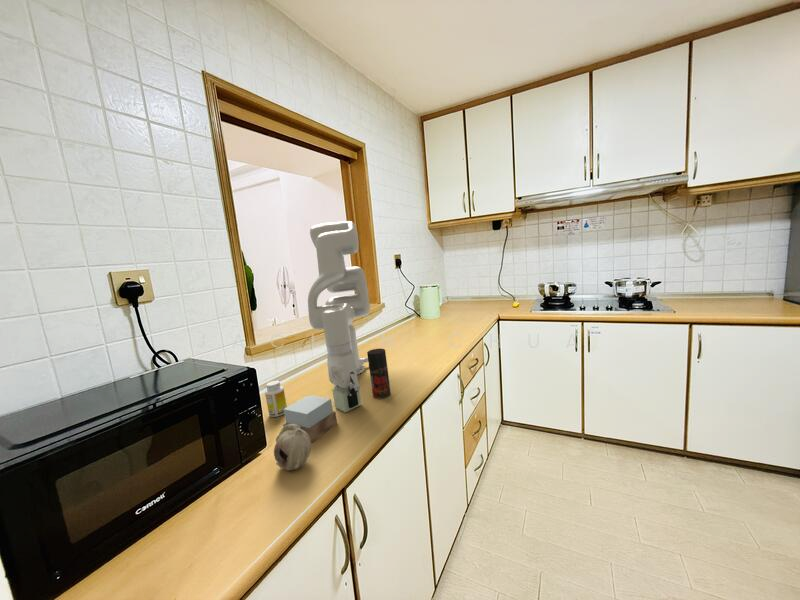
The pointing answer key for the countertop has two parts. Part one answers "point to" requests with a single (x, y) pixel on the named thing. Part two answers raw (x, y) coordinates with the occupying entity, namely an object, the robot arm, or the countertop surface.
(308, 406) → the grey-blue block
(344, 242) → the robot arm
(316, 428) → the walnut block
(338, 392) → the sage cube
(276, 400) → the supplement bottle
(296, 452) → the garlic bulb
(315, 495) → the countertop surface
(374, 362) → the deodorant
